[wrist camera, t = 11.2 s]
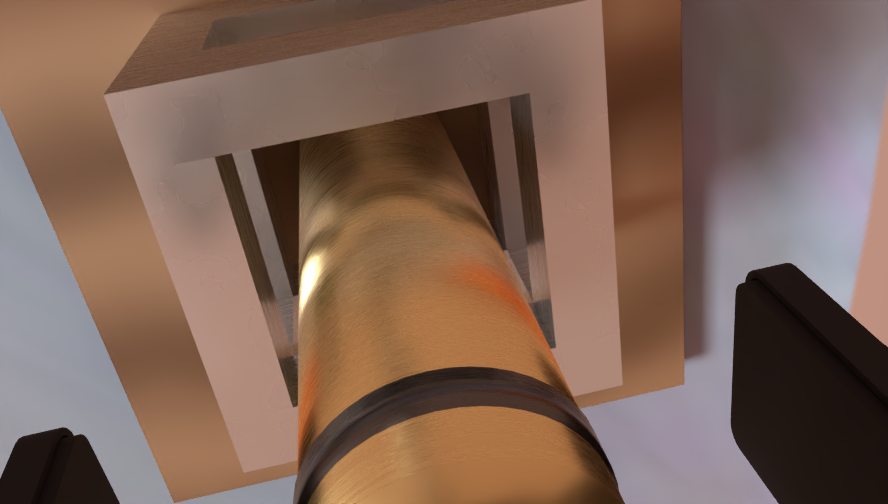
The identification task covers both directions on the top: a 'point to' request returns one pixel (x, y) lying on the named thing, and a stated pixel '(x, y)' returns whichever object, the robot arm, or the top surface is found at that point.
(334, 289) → the brass tube
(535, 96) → the collar cage
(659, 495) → the top surface
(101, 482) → the robot arm
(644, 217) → the stand board
